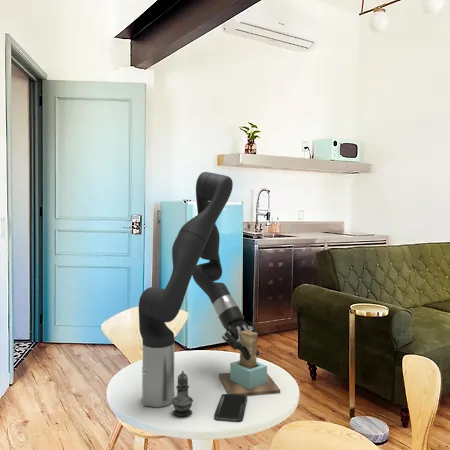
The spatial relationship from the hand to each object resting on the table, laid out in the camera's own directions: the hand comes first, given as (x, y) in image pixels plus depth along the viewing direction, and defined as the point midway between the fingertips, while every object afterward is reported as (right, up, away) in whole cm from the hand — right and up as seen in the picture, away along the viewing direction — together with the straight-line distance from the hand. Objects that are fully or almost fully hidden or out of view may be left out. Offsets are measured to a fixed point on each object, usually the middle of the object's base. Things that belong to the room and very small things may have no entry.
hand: (253, 357), depth 143 cm
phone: (-7, -11, -14) cm, 19 cm away
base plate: (-1, -9, +2) cm, 10 cm away
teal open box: (-1, -9, +2) cm, 10 cm away
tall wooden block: (-2, -6, +2) cm, 7 cm away
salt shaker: (-21, -11, -17) cm, 29 cm away
